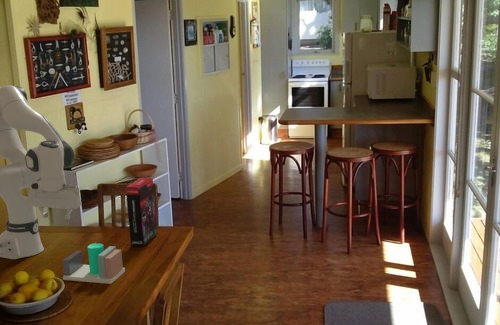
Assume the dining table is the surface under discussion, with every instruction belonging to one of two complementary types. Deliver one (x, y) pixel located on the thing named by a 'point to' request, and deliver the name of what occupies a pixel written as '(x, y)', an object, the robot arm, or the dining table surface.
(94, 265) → the candle
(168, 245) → the dining table surface
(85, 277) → the white base with blocks
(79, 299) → the dining table surface
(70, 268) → the bookend
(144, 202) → the graphics card box
